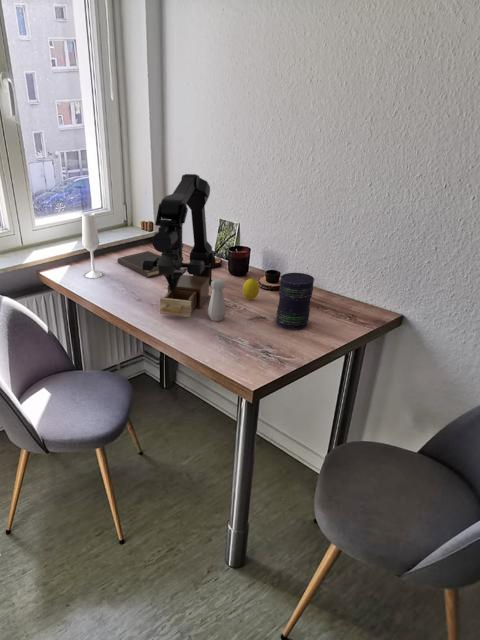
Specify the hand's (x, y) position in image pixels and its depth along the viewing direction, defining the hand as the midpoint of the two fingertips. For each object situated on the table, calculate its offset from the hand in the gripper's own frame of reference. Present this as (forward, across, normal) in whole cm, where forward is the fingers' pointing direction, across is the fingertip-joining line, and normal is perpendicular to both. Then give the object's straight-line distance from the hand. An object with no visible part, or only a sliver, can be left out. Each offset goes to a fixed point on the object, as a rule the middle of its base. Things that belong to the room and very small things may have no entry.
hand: (173, 291), depth 159 cm
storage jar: (+10, +37, +8) cm, 39 cm away
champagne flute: (+10, -44, +33) cm, 56 cm away
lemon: (+10, +21, +24) cm, 33 cm away
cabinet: (+10, 0, +18) cm, 20 cm away
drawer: (+9, 0, +5) cm, 10 cm away
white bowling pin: (+10, +13, +5) cm, 17 cm away
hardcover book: (+10, -27, +48) cm, 56 cm away
